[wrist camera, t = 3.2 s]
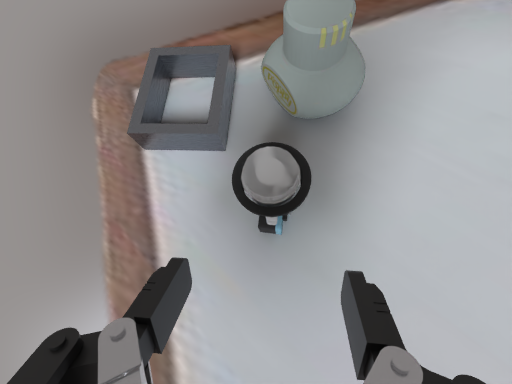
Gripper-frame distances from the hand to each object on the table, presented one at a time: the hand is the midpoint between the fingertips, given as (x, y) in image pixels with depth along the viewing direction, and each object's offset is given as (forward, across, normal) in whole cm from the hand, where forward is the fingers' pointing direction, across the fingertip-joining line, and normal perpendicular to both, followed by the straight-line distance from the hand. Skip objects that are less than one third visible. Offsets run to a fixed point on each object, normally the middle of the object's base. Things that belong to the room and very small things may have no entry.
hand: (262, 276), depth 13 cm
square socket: (+21, +11, -6) cm, 25 cm away
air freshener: (+23, -3, -7) cm, 24 cm away
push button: (+13, 0, +3) cm, 13 cm away
